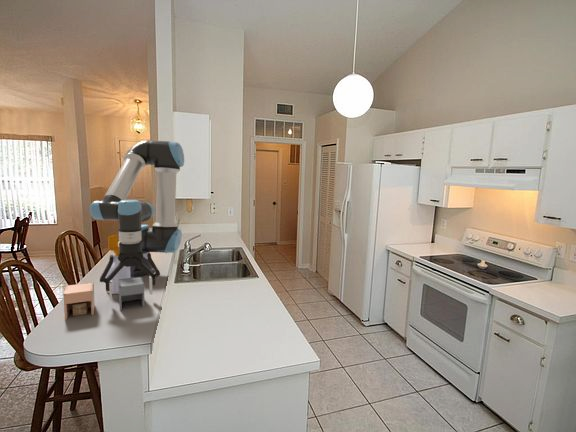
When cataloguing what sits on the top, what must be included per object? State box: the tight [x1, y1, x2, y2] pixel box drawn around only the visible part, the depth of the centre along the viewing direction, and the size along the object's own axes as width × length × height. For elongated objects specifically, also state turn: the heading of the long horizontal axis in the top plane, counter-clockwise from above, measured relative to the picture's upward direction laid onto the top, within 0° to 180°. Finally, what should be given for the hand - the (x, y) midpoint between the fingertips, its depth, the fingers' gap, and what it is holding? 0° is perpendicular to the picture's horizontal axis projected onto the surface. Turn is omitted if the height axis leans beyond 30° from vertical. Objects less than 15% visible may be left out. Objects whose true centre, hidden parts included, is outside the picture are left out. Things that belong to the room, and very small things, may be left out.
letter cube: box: [72, 301, 89, 316], centre depth 109 cm, size 4×4×4 cm
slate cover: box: [118, 276, 145, 311], centre depth 117 cm, size 8×8×9 cm
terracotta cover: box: [63, 282, 96, 320], centre depth 108 cm, size 8×8×9 cm
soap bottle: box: [105, 233, 132, 295], centre depth 128 cm, size 9×9×25 cm
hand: (131, 296), depth 117 cm, fingers open, 13 cm apart
